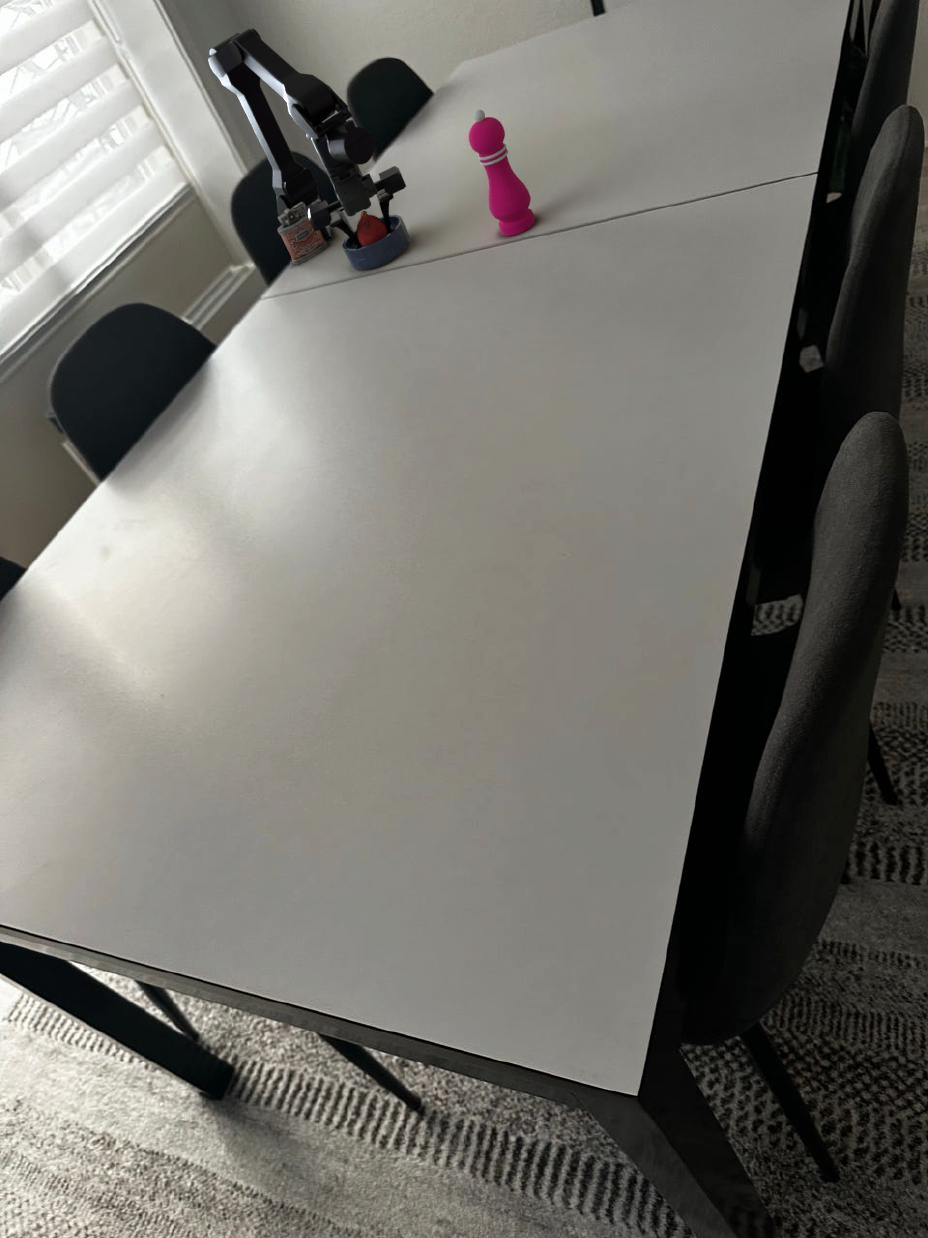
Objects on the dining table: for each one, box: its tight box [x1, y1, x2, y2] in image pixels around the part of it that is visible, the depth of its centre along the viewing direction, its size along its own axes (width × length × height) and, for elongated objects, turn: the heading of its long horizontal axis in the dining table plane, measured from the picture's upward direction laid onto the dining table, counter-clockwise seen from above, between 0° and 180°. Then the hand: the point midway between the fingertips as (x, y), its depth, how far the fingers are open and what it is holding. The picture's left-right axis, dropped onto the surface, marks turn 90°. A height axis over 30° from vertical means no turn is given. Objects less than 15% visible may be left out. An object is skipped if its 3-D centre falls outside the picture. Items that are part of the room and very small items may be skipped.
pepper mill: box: [468, 109, 536, 237], centre depth 156 cm, size 7×7×20 cm
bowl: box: [341, 214, 412, 271], centre depth 177 cm, size 12×12×4 cm
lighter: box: [277, 202, 328, 265], centre depth 190 cm, size 8×3×10 cm, turn 118°
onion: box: [356, 210, 388, 247], centre depth 175 cm, size 6×6×8 cm
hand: (376, 241), depth 176 cm, fingers closed on onion, 6 cm apart
